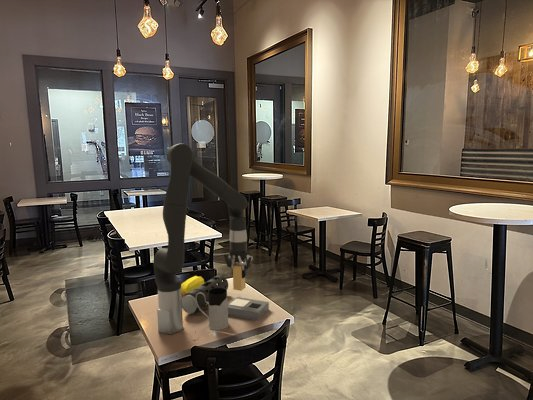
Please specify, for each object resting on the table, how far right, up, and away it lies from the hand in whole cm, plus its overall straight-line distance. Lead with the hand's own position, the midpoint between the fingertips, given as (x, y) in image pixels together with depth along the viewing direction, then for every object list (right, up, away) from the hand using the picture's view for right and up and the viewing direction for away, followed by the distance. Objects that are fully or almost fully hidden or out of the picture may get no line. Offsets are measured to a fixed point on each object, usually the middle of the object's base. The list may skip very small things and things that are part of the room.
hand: (239, 277), depth 169 cm
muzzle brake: (-16, -15, +10) cm, 25 cm away
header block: (+3, -16, +1) cm, 17 cm away
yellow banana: (-26, -13, +28) cm, 40 cm away
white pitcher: (-10, -18, -11) cm, 23 cm away
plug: (0, -5, +1) cm, 5 cm away
